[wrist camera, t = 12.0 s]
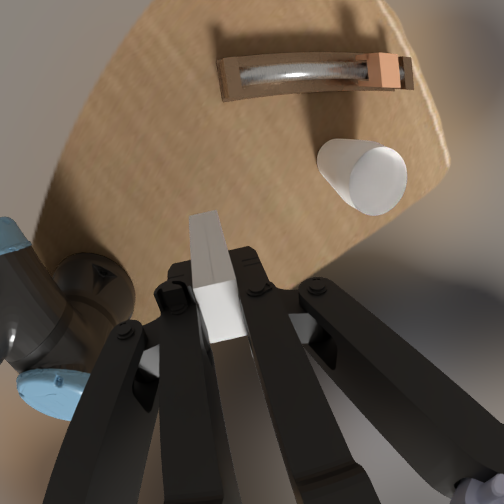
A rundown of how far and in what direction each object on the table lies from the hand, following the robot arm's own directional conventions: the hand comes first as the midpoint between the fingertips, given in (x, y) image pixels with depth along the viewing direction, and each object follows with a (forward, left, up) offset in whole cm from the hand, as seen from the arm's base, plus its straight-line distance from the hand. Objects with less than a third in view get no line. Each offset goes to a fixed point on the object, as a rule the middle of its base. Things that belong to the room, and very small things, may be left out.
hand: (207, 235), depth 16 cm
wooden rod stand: (+18, +9, -26) cm, 33 cm away
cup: (+20, -5, -27) cm, 34 cm away
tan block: (+25, +9, -23) cm, 35 cm away
